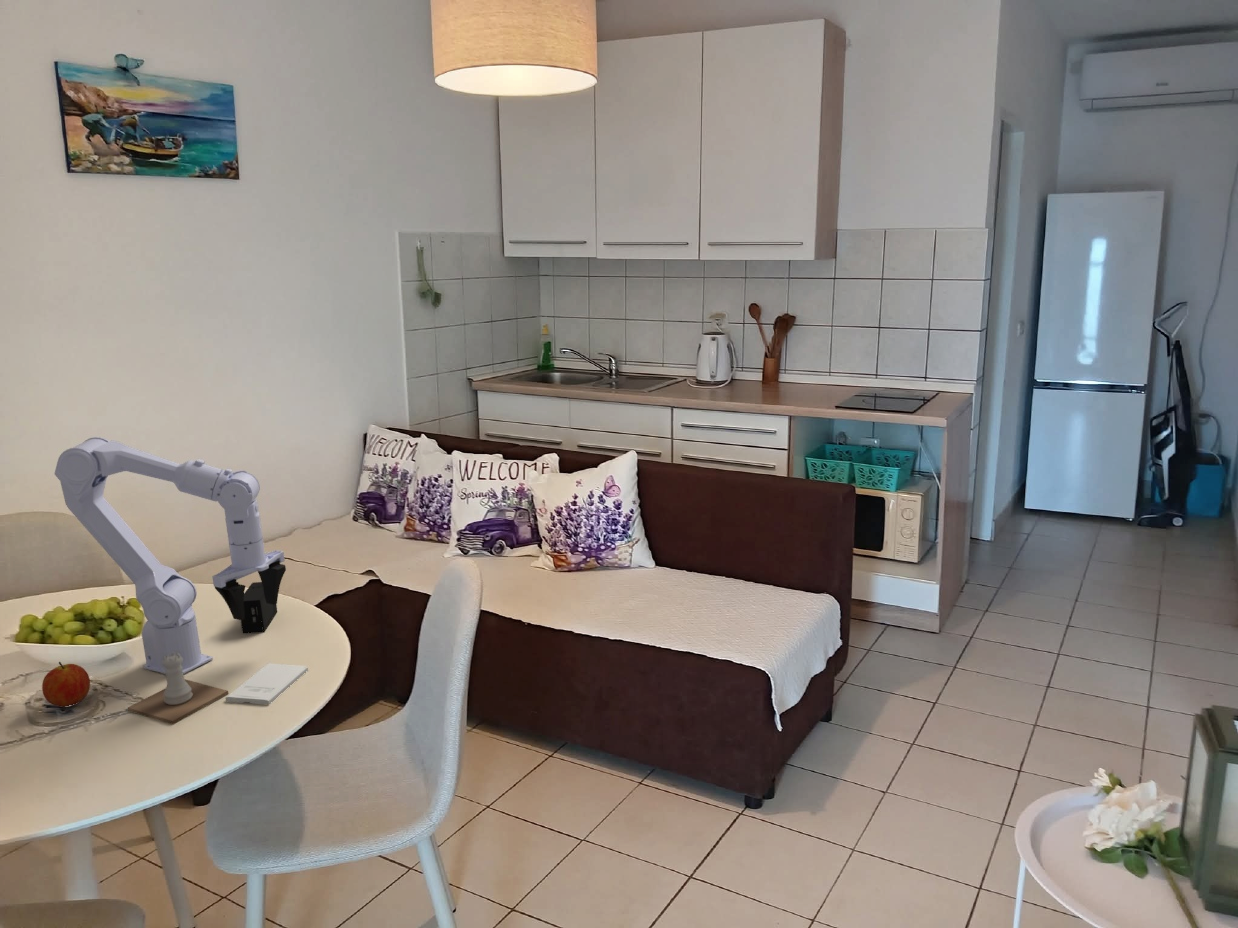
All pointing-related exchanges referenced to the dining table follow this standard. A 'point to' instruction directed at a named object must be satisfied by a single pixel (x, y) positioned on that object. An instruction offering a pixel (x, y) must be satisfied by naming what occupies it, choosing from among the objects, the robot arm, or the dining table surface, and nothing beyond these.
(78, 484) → the robot arm
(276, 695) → the external hard drive
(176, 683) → the rook chess piece
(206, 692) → the walnut coaster
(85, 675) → the fruit
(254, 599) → the digital camera
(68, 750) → the dining table surface
